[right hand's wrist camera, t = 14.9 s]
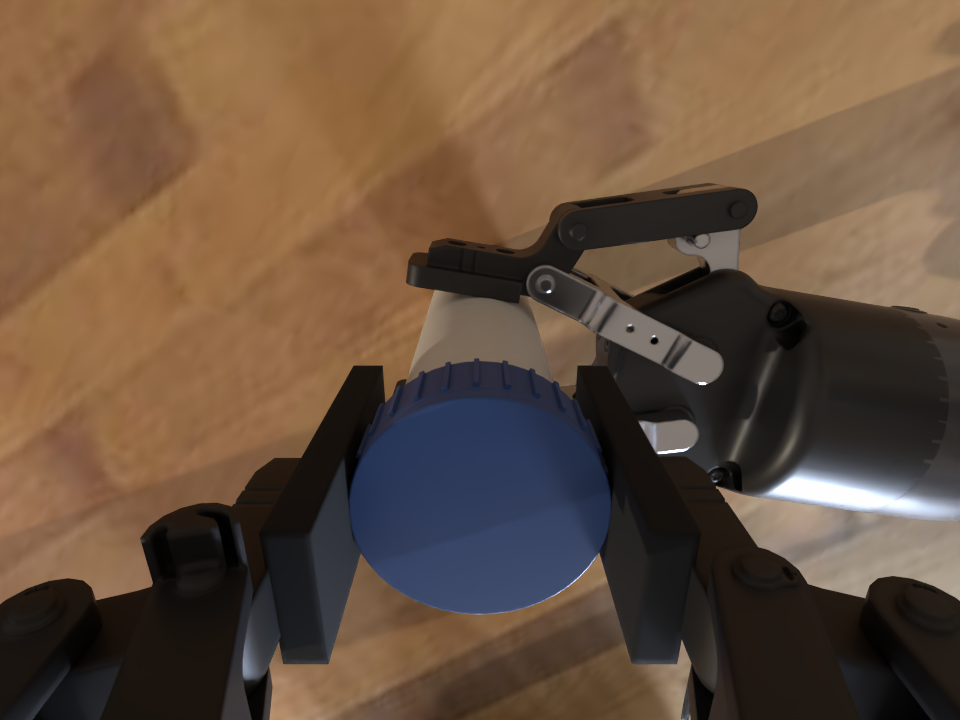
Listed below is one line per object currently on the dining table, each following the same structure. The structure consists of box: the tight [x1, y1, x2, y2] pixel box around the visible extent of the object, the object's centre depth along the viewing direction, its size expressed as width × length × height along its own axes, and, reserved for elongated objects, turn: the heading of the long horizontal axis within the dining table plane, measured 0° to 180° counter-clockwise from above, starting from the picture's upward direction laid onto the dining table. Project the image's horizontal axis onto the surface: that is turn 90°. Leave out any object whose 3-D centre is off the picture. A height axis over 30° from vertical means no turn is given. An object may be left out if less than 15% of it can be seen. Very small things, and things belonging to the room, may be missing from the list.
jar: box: [405, 290, 554, 385], centre depth 18 cm, size 4×4×15 cm
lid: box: [348, 358, 612, 614], centre depth 11 cm, size 5×5×2 cm
